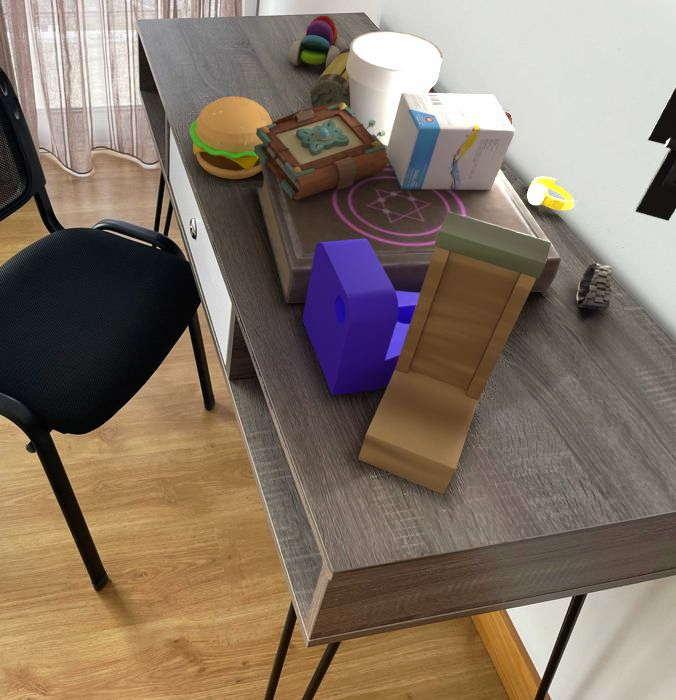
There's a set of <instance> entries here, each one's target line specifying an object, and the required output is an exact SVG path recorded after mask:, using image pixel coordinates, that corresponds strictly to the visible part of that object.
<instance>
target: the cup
mask: <svg viewBox="0 0 676 700" xmlns="http://www.w3.org/2000/svg"><path fill="white" fill-rule="evenodd" d="M349 48H350V52H349V56H348V60H347V64H346V70H347V72H348V74H349V89H350V106H349V108H350V109H351V110H352V112H353V113H354V114H355V118H356V119H357V120H358V121H359V122H360V123H361V124H363V127H364V128H365V129H366V128H367V127H368V126H369V120H375V122H376V123H375V125H374V126H373V127H369V128H367V131H368V132H369V133H370V134H371V135H373V134H374V135H375V136H376V135H377V134H378V132H381V131H384V132H385V133H386V134H385V135H384V136H379V135H378V136H377V139H378V140H379V141H380V142H381V143H382V144H384V145H387V146H388V142H389V138H390V134H391V130H392V126H393V123H394V119H395V115H396V111H397V107H398V104H399V100H400V96H401V93H428V91H429V89H430V88H431V87H432V86H433V87H434V85H436V84H437V81H438V78H439V74H440V69H441V63H442V61H443V59H444V58H443V52H442V51H441V50H440V48H439V47H438V46H437V45H436V44H434V43H433V42H432V41H430V40H427V39H426V38H423V37H421V36H418V35H414V34H412V33H406V32H401V31H393V30H384V31H383V30H377V31H370V32H366V33H362V34H359V35H358V36H357V37H355V38H354V39H352V41H351V42H350V43H349Z"/></svg>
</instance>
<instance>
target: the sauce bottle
mask: <svg viewBox="0 0 676 700" xmlns="http://www.w3.org/2000/svg"><path fill="white" fill-rule="evenodd" d="M349 52H350V47H349V48H347V49H345V50H344V51H342V52H341V53H340V54H339V55H338V56H337V57H336V58H335V59H334V60H333V61H332V62H331V64H330V65H329V66H328V67H327V69H326V68H325V70H324V71H323V73H322V74H321V75H320V76H319V77H318V79H316V81H315V83H314V85H313V86H312V87H311V90H310V103H311V107H312V108H314V107H319V106H323V105H327V104H332V103H336V102H344V103H345V104H346V105H347V106H348V107H349V108H350V89H349V74H348V72H347V70H346V64H347V60H348V56H349Z"/></svg>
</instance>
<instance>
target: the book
mask: <svg viewBox="0 0 676 700" xmlns="http://www.w3.org/2000/svg"><path fill="white" fill-rule="evenodd" d="M260 165H261V169H262V171H261V172H262V176H263V184H262V187H257V188H256V192H257V197H258V200H259V204H260V209H261V213H262V216H263V218H264V224H265V227H266V231H267V235H268V239H269V242H270V246H271V250H272V254H273V257H274V258H273V259H274V262H275V265H276V270H277V273H278V277H279V281H280V285H281V290H282V293H283V296H284V300H285V303H286V304H299V303H300V304H301V303H306V297H307V292H308V286H309V281H310V275H311V269H312V264H313V258H314V252H315V248H316V245H317V244H318V243H321V242H332V241H343V240H354V239H367V240H368V241H369V243H370V245H371V247H372V248H373V250H374V252H375V254H376V256H377V258H378V260H379V261H380V263H381V265H382V267H383V269H384V271H385V272H386V274H387V276H388V278H389V280H390V282H391V283H392V285H393V287H394V289H395V291H404V292H415V293H420V292H421V289H422V286H423V283H424V280H425V277H426V274H427V271H428V268H429V265H430V262H431V258H432V255H433V252H434V249H435V246H434V245H435V242H436V239H437V235H438V232H439V230H440V228H441V226H442V224H443V222H444V220H445V217H446V215H447V213H448V212H453V213H456V214H459V215H463V216H466V217H469V218H473V219H476V220H479V221H483V222H486V223H489V224H493V225H496V226H499V227H503V228H506V229H510V230H513V231H516V232H520V233H523V234H526V235H530V236H533V237H536V238H540V239H543V240H546V241H550V239H549V238H548V237H547V235H546V234H545V233H544V231H543V229H542V228H541V227H540V225H539V223H538V222H537V221H536V219H535V218H534V216H533V214H531V212H530V211H529V209H528V208H527V206H526V205H525V203H524V202H523V200H522V199H521V198H520V196H519V194H518V193H517V191H516V190H515V189H514V187H513V186H512V185H511V183H510V181H509V180H508V179H507V177H506V176H505V174H504V173H503V171H502V170H501V168H500V169H499V172H498V174H497V176H496V179H495V181H494V184H493V186H492V189H491V190H446V189H401V188H400V186H399V183H398V180H397V178H396V176H395V173H394V170H393V168H392V166H391V163H390V160H389V158H388V156H387V165H386V167H385V169H384V170H383V171H380V172H377V173H375V174H372V175H369V176H366V177H363V178H360V179H357V180H354V182H353V185H351V186H348V187H346V188H343V189H340V190H337V191H334V190H332V189H328V190H325V191H322V192H319V193H317V194H314V195H311V196H308V197H305V198H302V199H299V200H296V199H291V198H290V197H289V196H288V194H287V193H286V192H285V190H284V189H283V188H282V187H281V182H280V181H279V180H278V178H277V177H276V176H275V174H274V173H273V172H272V171H271V169H270V168H269V167H268V166H267V164H266V165H264V164H263V162H262V161H261V160H260ZM561 260H562V257H561V255H560V254H559V253H558V251H557V250H556V248H555V247H554V245H553V244H552V243H551V247H550V250H549V254H548V257H547V261H546V264H545V266H544V268H543V270H542V272H541V274H540V277H539V278H538V279H537V278H536V280H535V282H534V285H533V287H532V289H531V291H530V293H538V292H539V293H541V292H546V291H547V290H548V288H550V286H551V285H552V284H553V282H554V281H555V278H556V276H557V274H558V272H559V268H560V265H561Z"/></svg>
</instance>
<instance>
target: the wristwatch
mask: <svg viewBox="0 0 676 700" xmlns="http://www.w3.org/2000/svg"><path fill="white" fill-rule="evenodd" d="M612 274H613V267H612V266H609V265H605V264H600V263H593V262H592V263H591V264H590V265H589V266H588V267H587V268H586V270H584V272H583V274H582V277H580V279H579V282H578V284H577V292H576V306H577V308H578V307H579V308H584V309H590V310H599V311H600V310H606V309H608V308H609V307H610V302H611V299H612V296H611V295H612V289H611V288H610V287H611V279H612Z"/></svg>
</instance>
